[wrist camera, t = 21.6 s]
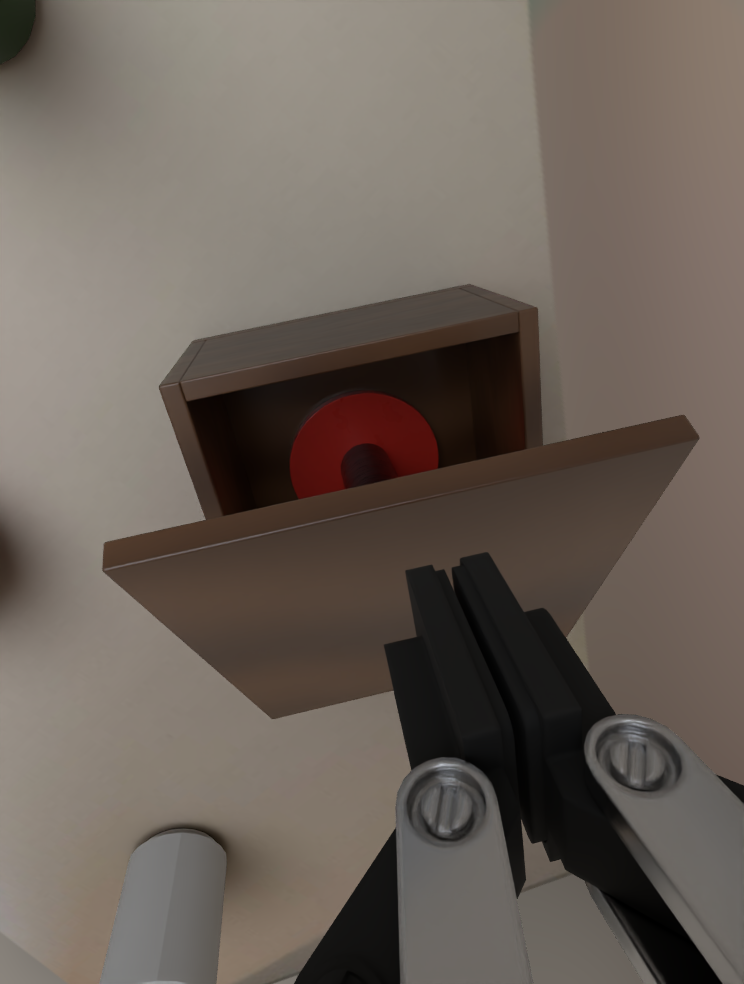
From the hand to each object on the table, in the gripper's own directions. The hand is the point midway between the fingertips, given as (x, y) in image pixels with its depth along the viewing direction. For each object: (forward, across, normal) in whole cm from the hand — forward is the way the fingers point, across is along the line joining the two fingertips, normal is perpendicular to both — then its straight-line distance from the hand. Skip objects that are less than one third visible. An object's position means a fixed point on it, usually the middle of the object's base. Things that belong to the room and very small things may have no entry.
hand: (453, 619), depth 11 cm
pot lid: (+20, 0, +5) cm, 21 cm away
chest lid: (+8, 0, +6) cm, 10 cm away
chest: (+21, 0, +5) cm, 22 cm away
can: (+21, +21, +36) cm, 46 cm away
